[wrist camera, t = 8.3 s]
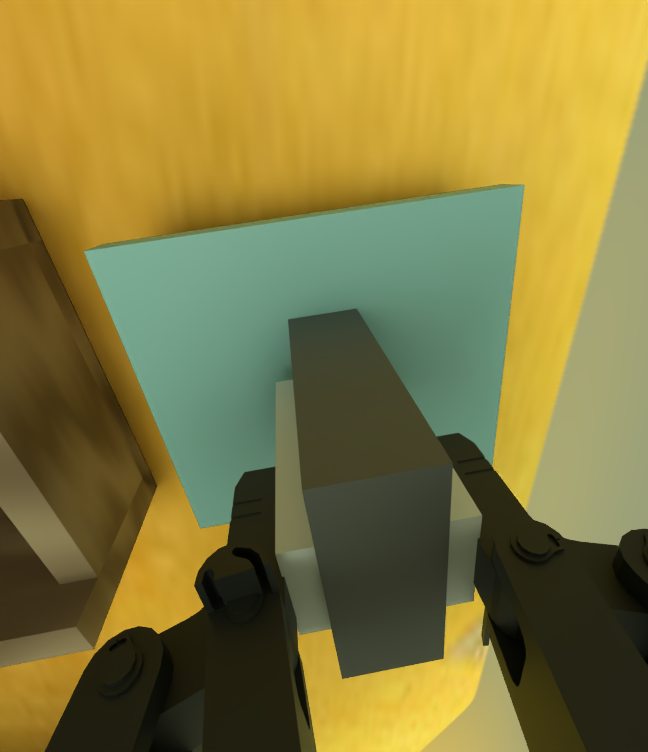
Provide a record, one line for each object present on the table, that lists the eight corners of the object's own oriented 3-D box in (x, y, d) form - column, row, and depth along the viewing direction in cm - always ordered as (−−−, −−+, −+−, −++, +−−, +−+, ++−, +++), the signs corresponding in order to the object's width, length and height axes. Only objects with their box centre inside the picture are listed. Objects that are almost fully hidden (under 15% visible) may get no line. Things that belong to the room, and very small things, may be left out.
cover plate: (476, 456, 19) (636, 676, 10) (205, 504, 18) (146, 777, 10) (500, 184, 13) (904, 192, 5) (102, 243, 12) (-249, 375, 4)
